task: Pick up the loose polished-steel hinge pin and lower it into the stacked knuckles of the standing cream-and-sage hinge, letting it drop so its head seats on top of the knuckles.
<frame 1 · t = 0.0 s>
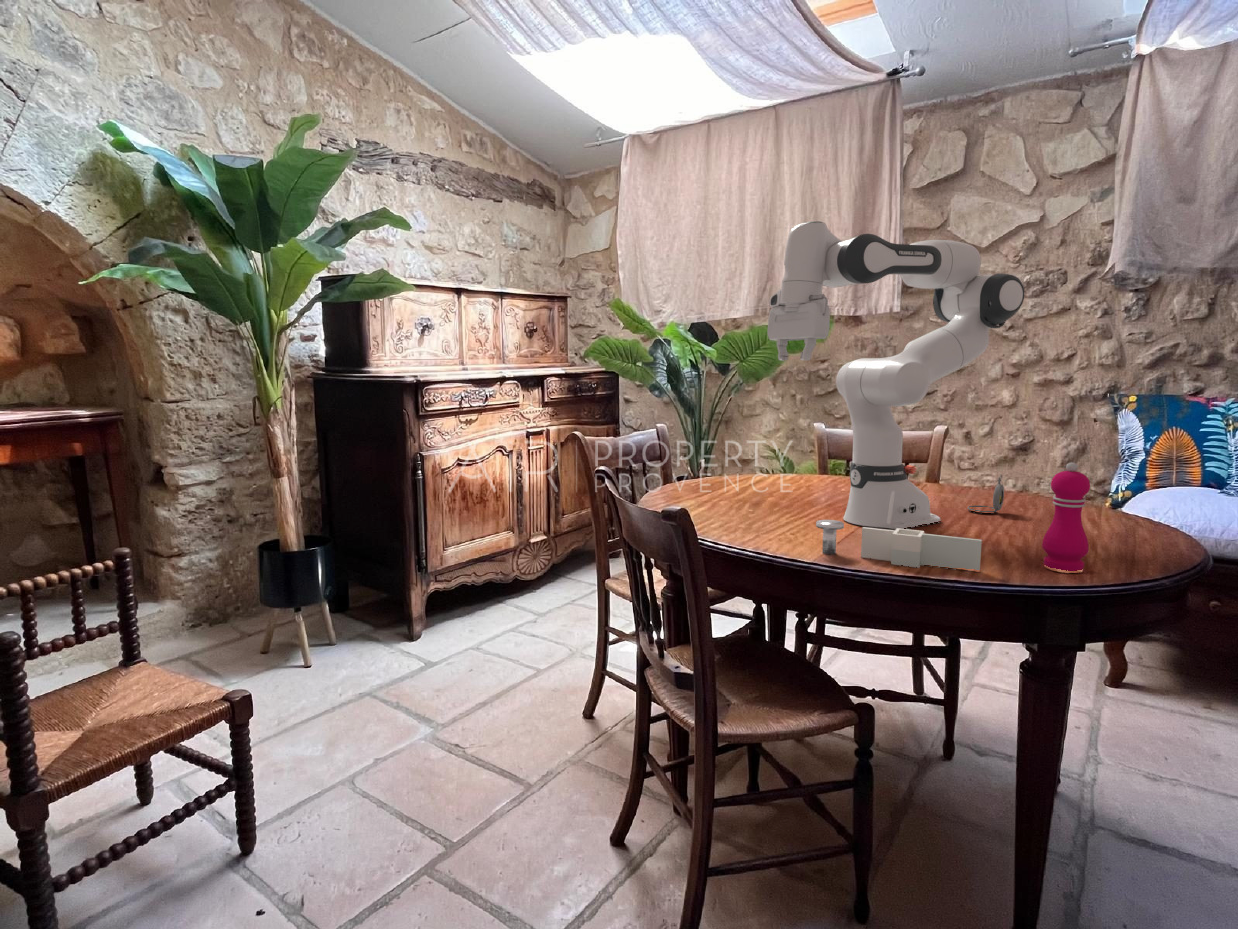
hand: (793, 360, 156), 39 cm above the table, tool pointing down, fingers open, 8 cm apart
pocket watch: (986, 513, 176), on the table
hinge pin: (829, 552, 142), on the table
pepper mill: (1063, 570, 129), on the table
hinge: (906, 562, 134), on the table
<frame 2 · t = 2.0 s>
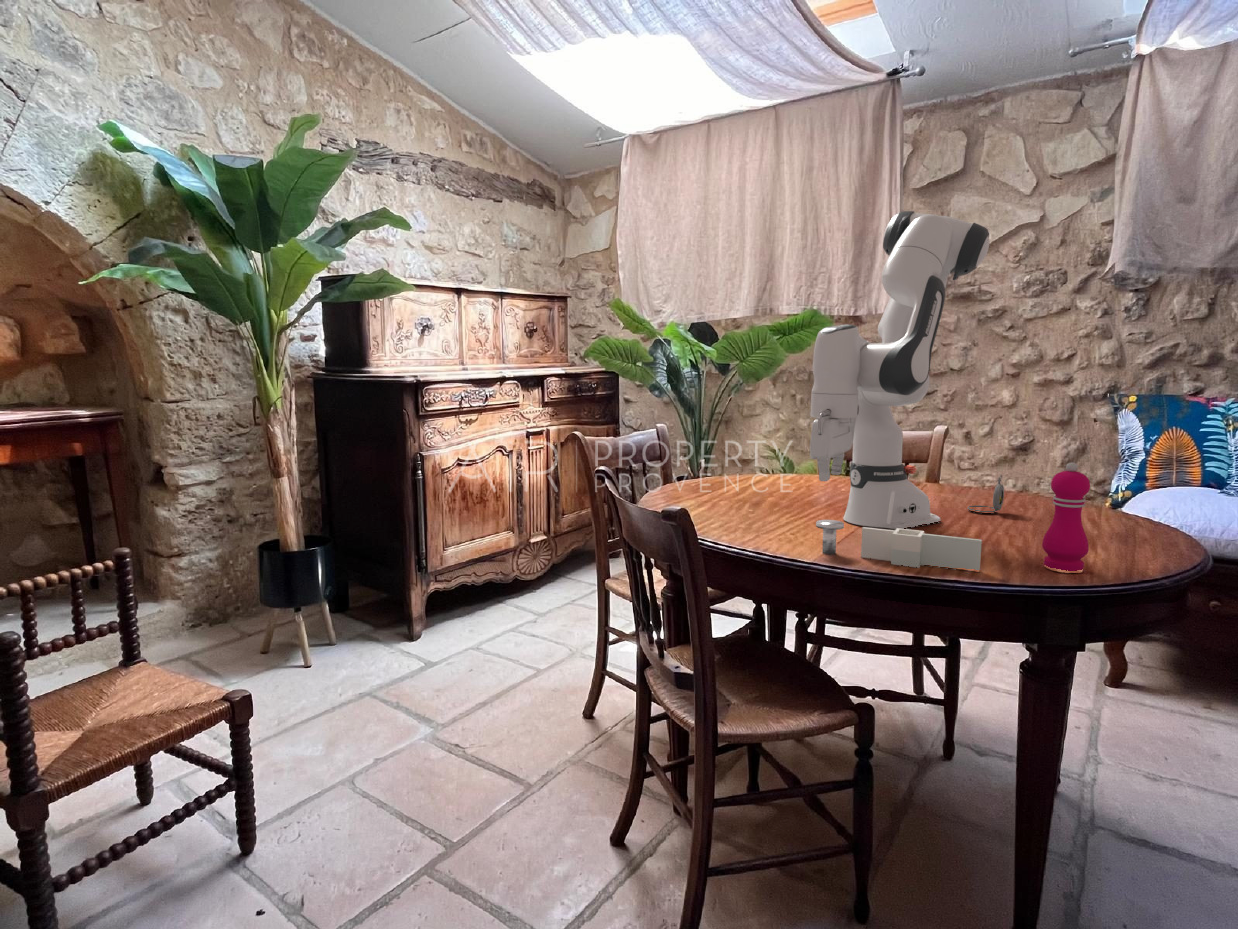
hand: (830, 477, 139), 16 cm above the table, tool pointing down, fingers open, 8 cm apart
nothing on the table moved.
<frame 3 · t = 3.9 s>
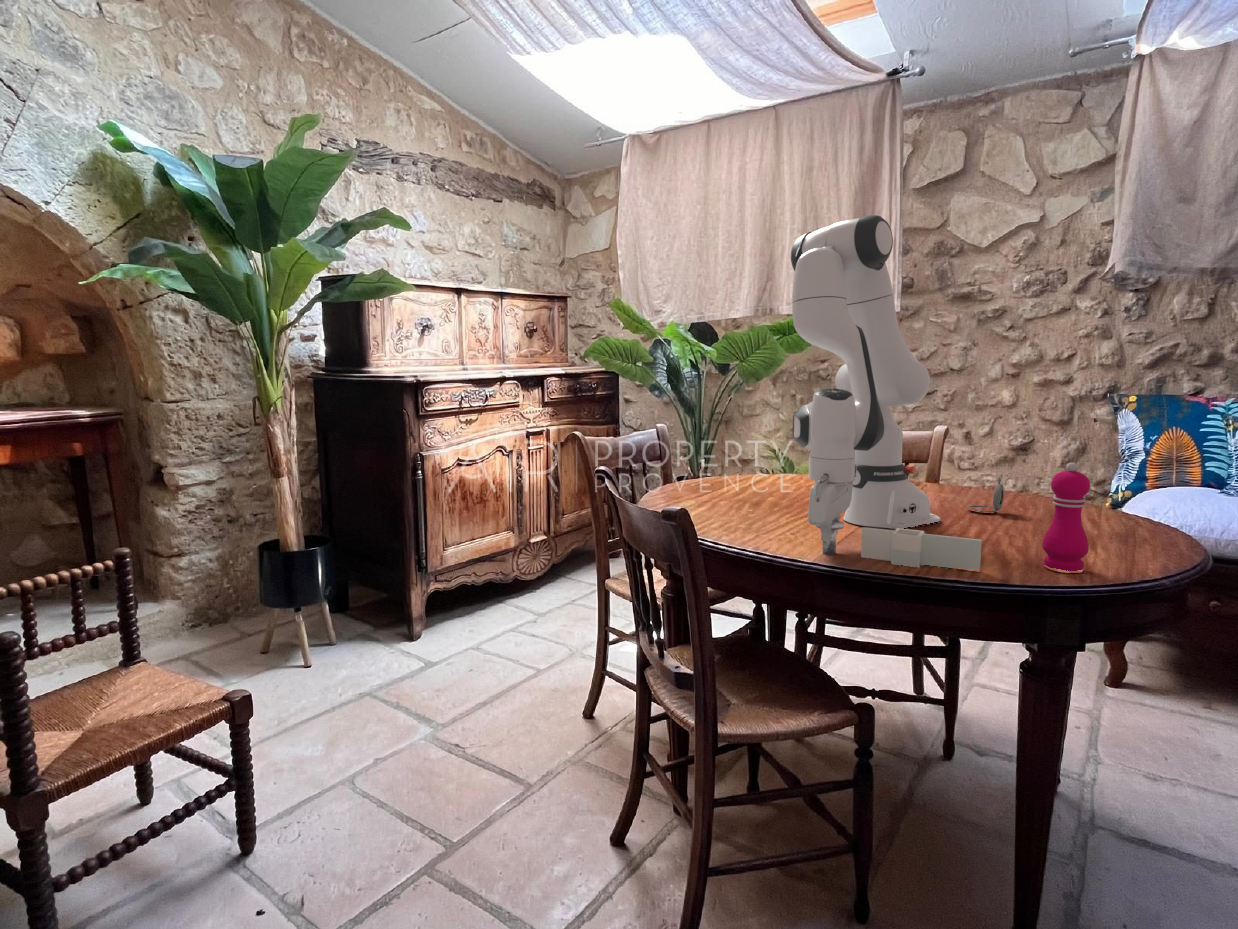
hand: (829, 538, 142), 3 cm above the table, tool pointing down, fingers closed on hinge pin, 3 cm apart
hinge pin: (829, 552, 142), on the table, touching gripper
everything else where it was.
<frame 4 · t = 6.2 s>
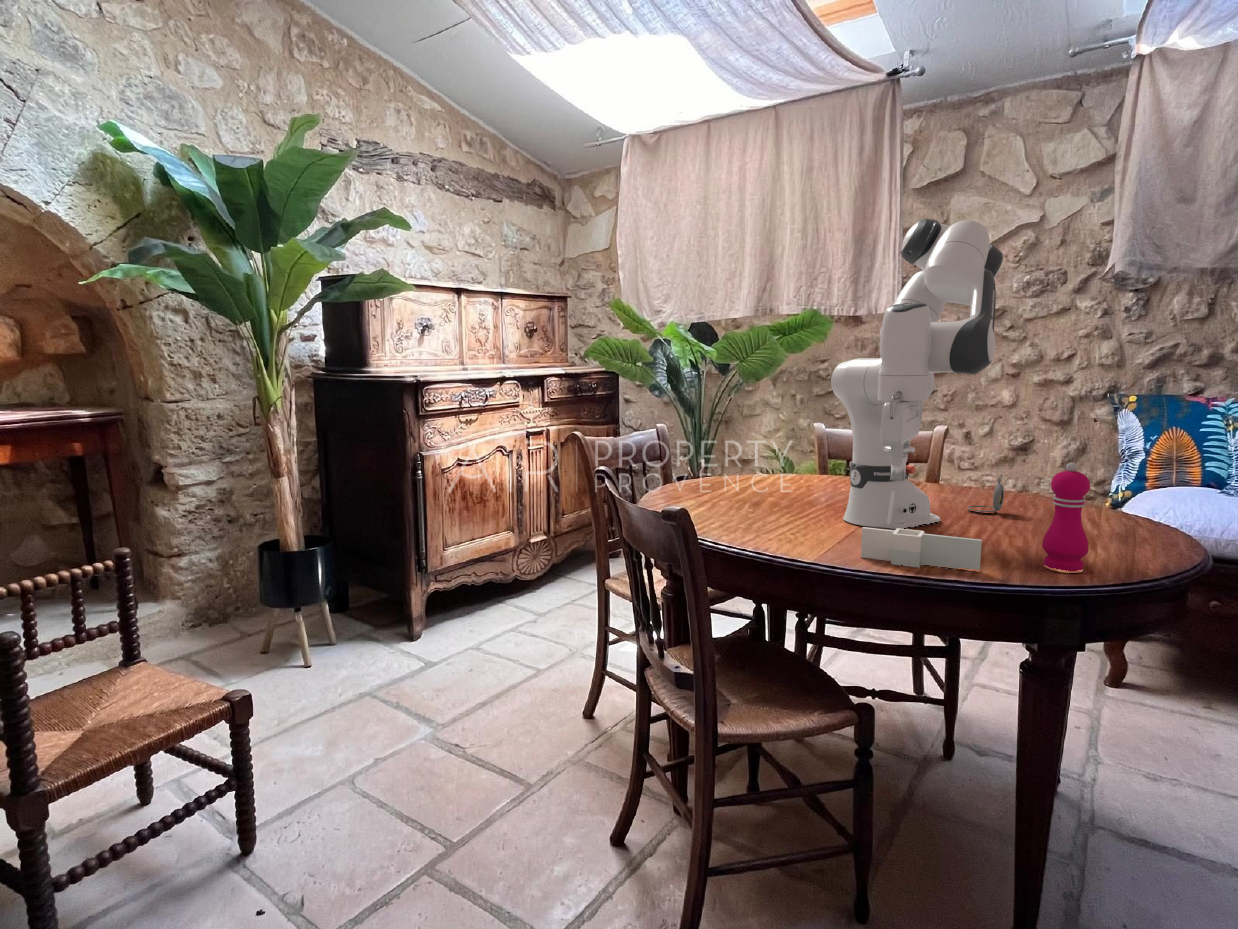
hand: (899, 463, 133), 19 cm above the table, tool pointing down, fingers closed on hinge pin, 3 cm apart
hinge pin: (897, 480, 133), point 16 cm above the table, touching gripper
everything else where it was.
when the fingers open (7 cm above the table, at t = 8.5 s): hinge pin drops 2 cm, resting on hinge.
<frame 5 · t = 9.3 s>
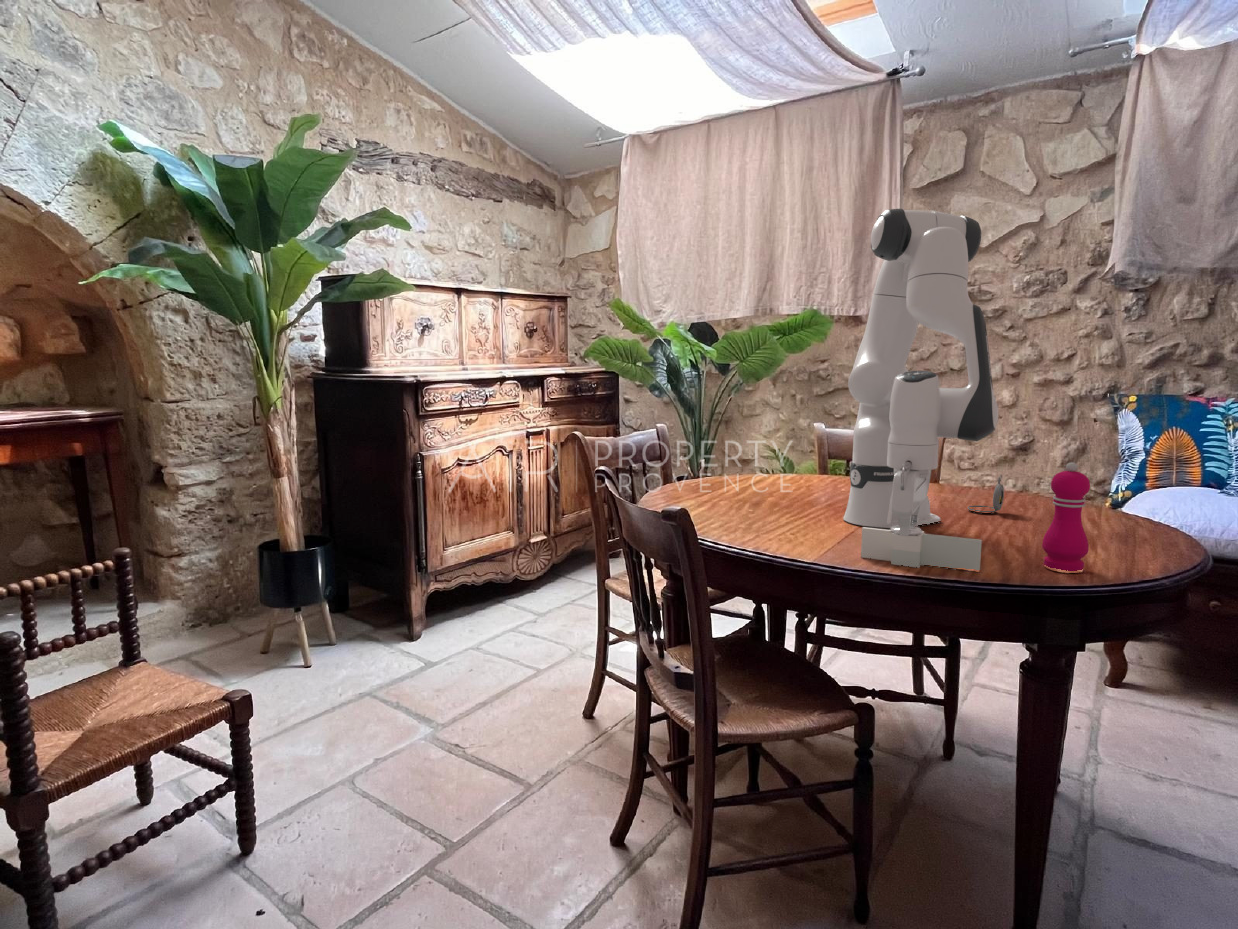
hand: (908, 529, 134), 7 cm above the table, tool pointing down, fingers open, 8 cm apart
hinge pin: (904, 560, 135), resting on hinge
everything else where it was.
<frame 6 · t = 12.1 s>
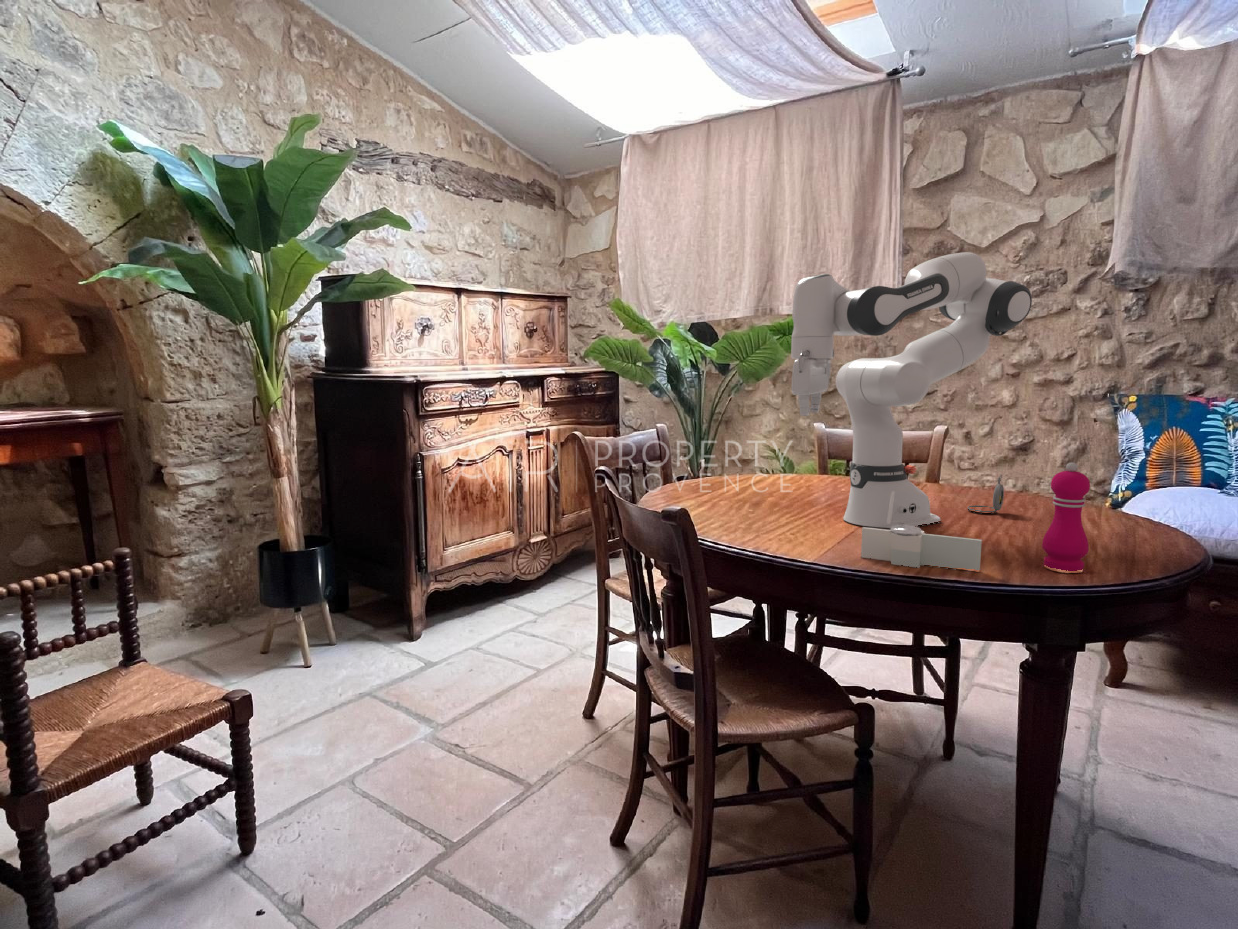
hand: (809, 414, 155), 27 cm above the table, tool pointing down, fingers open, 8 cm apart
nothing on the table moved.
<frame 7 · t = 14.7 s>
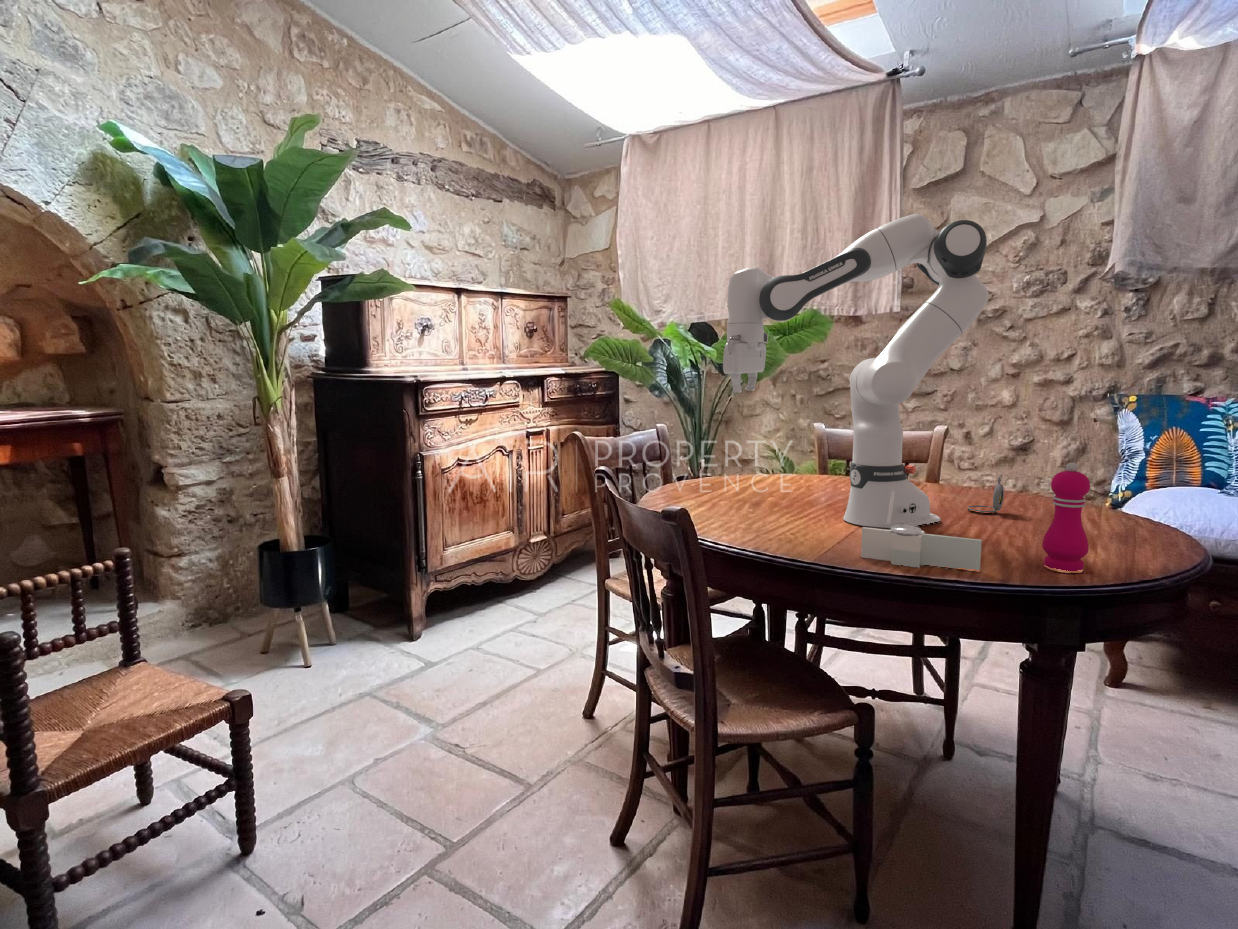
hand: (744, 391, 175), 31 cm above the table, tool pointing down, fingers open, 8 cm apart
nothing on the table moved.
at the end: hinge pin 0.5 cm off-centre on the hinge, point 0.5 cm above the hinge's base; hinge pin tilted 0°; the gripper is holding nothing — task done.
